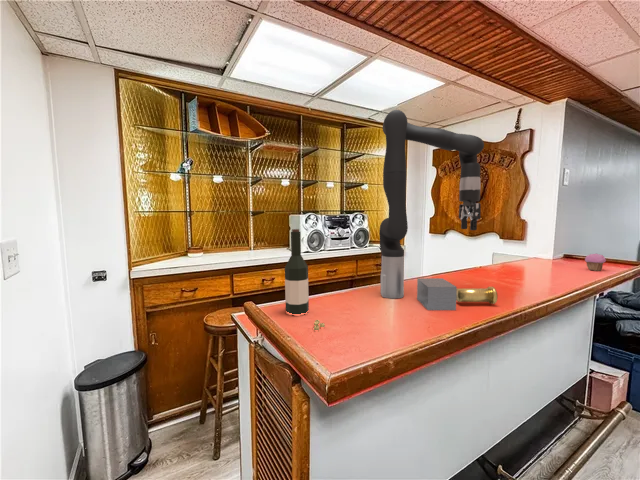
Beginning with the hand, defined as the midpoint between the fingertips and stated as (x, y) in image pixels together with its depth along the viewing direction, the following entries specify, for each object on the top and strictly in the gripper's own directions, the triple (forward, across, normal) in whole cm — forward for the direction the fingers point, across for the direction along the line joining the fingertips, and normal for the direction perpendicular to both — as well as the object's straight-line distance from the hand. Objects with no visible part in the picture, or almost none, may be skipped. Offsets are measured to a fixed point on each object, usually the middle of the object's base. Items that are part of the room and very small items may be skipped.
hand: (468, 229), depth 121 cm
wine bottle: (+28, +20, -68) cm, 76 cm away
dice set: (+29, +34, -60) cm, 75 cm away
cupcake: (+28, -56, +97) cm, 116 cm away
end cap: (+28, +10, -1) cm, 29 cm away
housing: (+28, +10, -16) cm, 34 cm away
